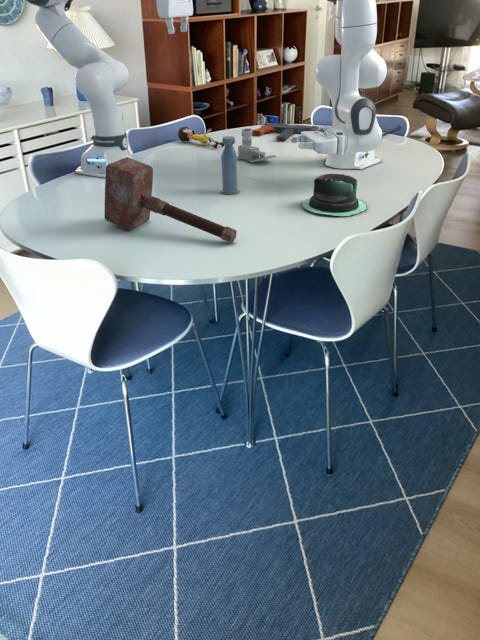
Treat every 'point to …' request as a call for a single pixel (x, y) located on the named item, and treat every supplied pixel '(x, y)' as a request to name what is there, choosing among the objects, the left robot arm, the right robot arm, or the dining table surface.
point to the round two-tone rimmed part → (334, 196)
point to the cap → (228, 140)
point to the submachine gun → (283, 129)
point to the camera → (250, 149)
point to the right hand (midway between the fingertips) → (295, 142)
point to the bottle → (229, 170)
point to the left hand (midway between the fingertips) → (177, 32)
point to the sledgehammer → (146, 200)
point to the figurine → (197, 137)
